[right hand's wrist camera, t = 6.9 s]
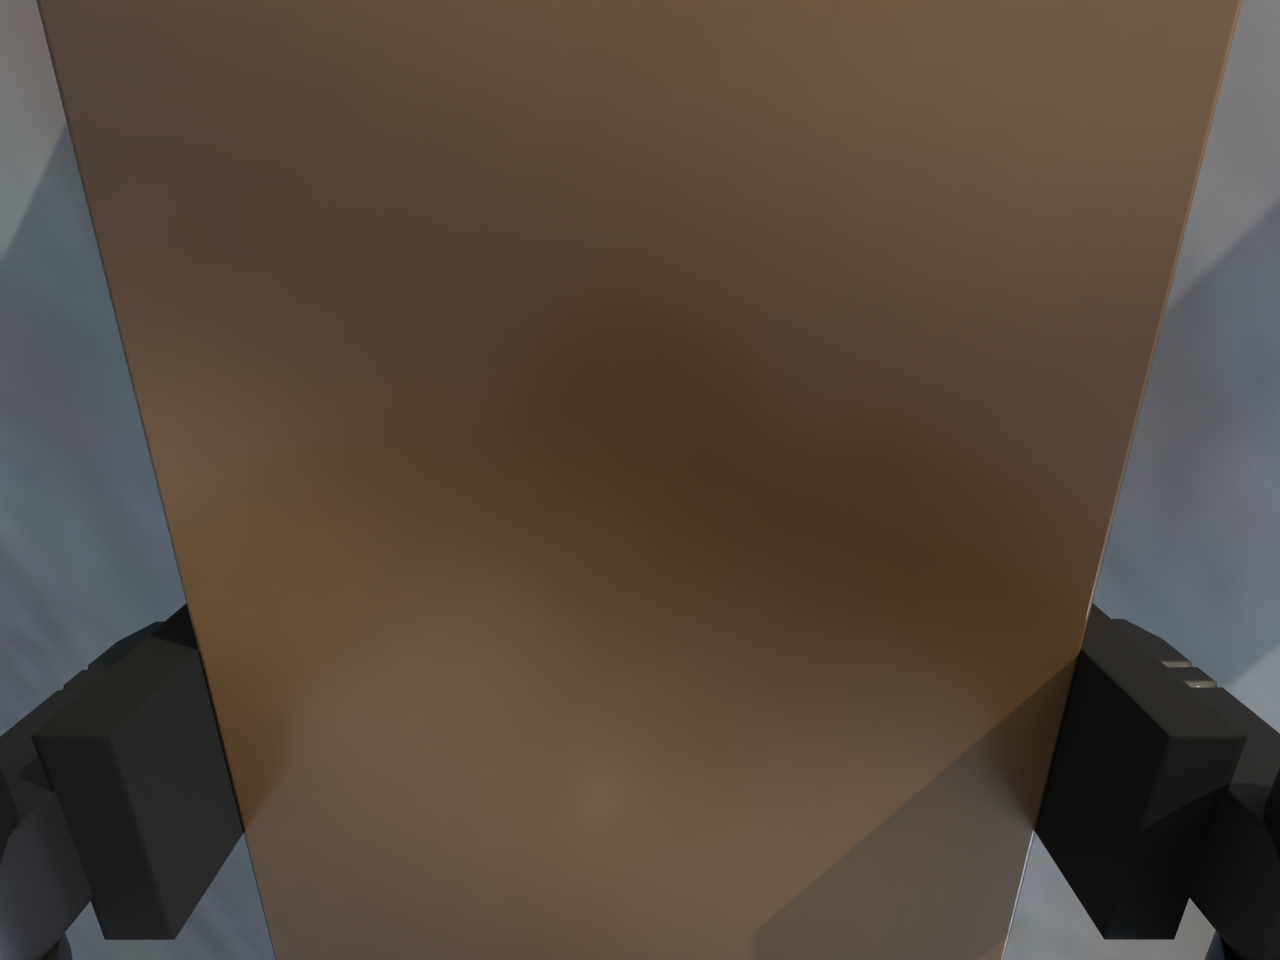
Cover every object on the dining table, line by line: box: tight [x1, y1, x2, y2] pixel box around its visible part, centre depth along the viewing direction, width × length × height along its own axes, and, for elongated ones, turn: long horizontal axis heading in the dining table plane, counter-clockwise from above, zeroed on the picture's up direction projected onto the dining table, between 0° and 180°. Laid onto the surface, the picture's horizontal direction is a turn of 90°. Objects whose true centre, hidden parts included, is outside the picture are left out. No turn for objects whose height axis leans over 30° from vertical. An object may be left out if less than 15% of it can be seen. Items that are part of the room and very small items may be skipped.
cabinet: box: [37, 0, 1242, 960], centre depth 11 cm, size 19×10×9 cm, turn 0°
